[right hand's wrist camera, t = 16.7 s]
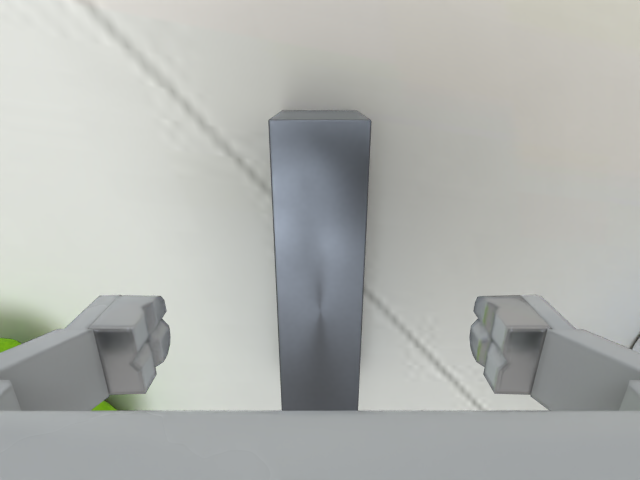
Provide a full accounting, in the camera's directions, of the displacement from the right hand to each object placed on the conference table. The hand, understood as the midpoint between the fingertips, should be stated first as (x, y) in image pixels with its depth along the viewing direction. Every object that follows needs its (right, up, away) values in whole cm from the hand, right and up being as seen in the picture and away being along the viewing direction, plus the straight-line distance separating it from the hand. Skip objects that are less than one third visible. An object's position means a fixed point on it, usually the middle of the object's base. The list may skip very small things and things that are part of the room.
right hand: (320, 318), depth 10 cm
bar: (0, 0, +25) cm, 25 cm away
